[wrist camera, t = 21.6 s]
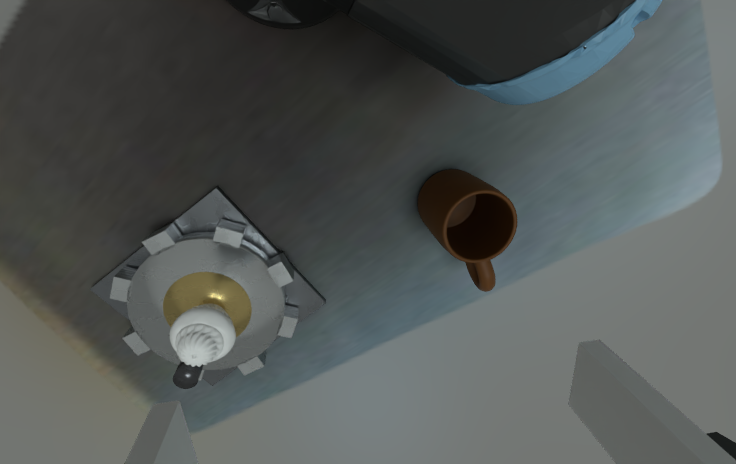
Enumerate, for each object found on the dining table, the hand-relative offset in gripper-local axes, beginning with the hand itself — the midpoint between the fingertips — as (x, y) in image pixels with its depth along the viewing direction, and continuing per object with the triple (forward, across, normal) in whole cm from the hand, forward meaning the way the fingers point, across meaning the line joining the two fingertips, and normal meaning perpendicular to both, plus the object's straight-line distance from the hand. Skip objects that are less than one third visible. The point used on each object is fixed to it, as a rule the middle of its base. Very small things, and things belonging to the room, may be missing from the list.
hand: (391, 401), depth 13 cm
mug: (+32, +13, -6) cm, 35 cm away
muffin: (+28, -15, -13) cm, 34 cm away
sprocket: (+31, -15, -12) cm, 36 cm away
